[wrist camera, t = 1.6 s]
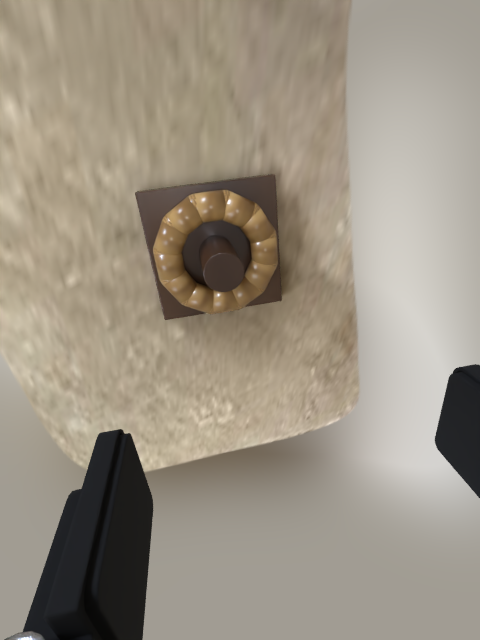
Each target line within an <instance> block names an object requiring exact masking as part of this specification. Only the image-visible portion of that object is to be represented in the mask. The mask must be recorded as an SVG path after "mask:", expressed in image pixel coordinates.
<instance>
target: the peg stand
mask: <svg viewBox="0 0 480 640" xmlns="http://www.w3.org/2000/svg"><path fill="white" fill-rule="evenodd" d="M216 190H229V191H231V192H233V193H236V194H238V195H240V196H242V197H244V198H246V199H249V200H251V201H253V202H255V203H257V204H258V205H259V206H260V208H261V209H262V211H263V212H264V214H265V215H266V217H267V218H268V220H269V221H270V223H271V224H272V226H273V227H274V229H275V231H276V235H277V252H278V264H277V267H276V269H275V271H274V273H273V275H272V277H271V279H270V282H269V284H268V286H267V288H266V290H265V291H264V292H263V293H262V294H261V295H259V296H258V297H257V298H255V299H254V300H252V301H251V302H250V303H248V304H247V305H246V306H252V305H258V304H264V303H270V302H276V301H281V300H282V296H281V277H280V258H279V239H278V219H277V200H276V181H275V175H273V174H268V175H260V176H253V177H245V178H237V179H229V180H221V181H214V182H206V183H198V184H190V185H182V186H174V187H167V188H159V189H151V190H143V191H137V192H136V193H135V195H136V199H137V204H138V208H139V212H140V217H141V221H142V225H143V229H144V234H145V238H146V242H147V246H148V251H149V255H150V259H151V263H152V268H153V272H154V276H155V280H156V285H157V289H158V293H159V297H160V302H161V306H162V310H163V315H164V319H165V320H168V319H174V318H180V317H186V316H192V315H198V314H204V313H205V312H202V311H199V310H196V309H193V308H190V307H187V306H184V305H182V304H181V303H179V301H178V300H177V299H176V298H175V297H174V296H173V295H172V294H171V293H170V292H169V291H168V290H167V289H166V288H165V287H164V286H163V284H162V283H161V282H160V279H159V276H158V271H157V267H156V263H155V258H154V254H153V246H154V243H155V240H156V237H157V234H158V231H159V228H160V225H161V222H162V220H163V217H164V216H165V215H166V214H167V213H168V212H169V211H171V210H172V209H173V208H174V207H175V206H177V205H178V204H179V203H180V202H182V201H183V200H184V199H185V198H186V197H188V196H189V195H191V194H194V193H201V192H208V191H216ZM182 256H183V261H184V267H185V270H186V271H187V272H188V274H189V275H190V276H191V277H192V278H193V279H194V280H195V282H196V283H199V284H202V285H205V286H207V287H210V288H211V289H213V290H215V291H218V292H228V291H231V290H233V289H235V288H236V287H238V286H239V285H240V283H241V282H242V280H243V278H244V275H245V273H246V270H247V268H248V266H249V264H250V262H251V259H252V257H251V246H250V241H249V240H248V238H247V237H246V235H245V234H244V233H243V231H242V230H241V229H240V227H237V226H235V225H233V224H230V223H228V222H226V221H223V220H220V221H213V222H206V223H202V224H201V225H200V226H199V227H197V228H196V229H195V230H194V231H193V232H191V233H190V234H189V235H188V237H187V240H186V242H185V245H184V248H183V250H182ZM246 306H244V307H246Z"/></svg>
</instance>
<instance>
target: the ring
mask: <svg viewBox="0 0 480 640" xmlns="http://www.w3.org/2000/svg"><path fill="white" fill-rule="evenodd" d="M220 220H223V221H226V222H228V223H230V224H233V225H235V226H237V227H240V229H241V230H242V231H243V233H244V234H245V235H246V237H247V238H248V240H249V241H250V246H251V257H252V259H251V262H250V264H249V266H248V268H247V270H246V273H245V275H244V278H243V280H242V282H241V283H240V285H239V286H238V287H236V288H235V289H233V290H231V291H228V292H218V291H215V290H213V289H211V288H210V287H207V286H205V285H202V284H199V283H196V282H195V280H194V279H193V278H192V277H191V276H190V275H189V274H188V272H187V271H186V270H185V267H184V261H183V256H182V250H183V248H184V245H185V242H186V240H187V237H188V235H189V234H190V233H191V232H193V231H194V230H195V229H196V228H197V227H199V226H200V225H201V224H202V223H206V222H213V221H220ZM153 254H154V258H155V263H156V267H157V271H158V276H159V279H160V282H161V283H162V284H163V286H164V287H165V288H166V289H167V290H168V291H169V292H170V293H171V294H172V295H173V296H174V297H175V298H176V299H177V300H178V301H179V303H181V304H182V305H184V306H187V307H190V308H193V309H196V310H199V311H202V312H205V313H208V314H216V313H222V312H228V311H234V310H239V309H241V308H243V307H244V306H246V305H247V304H248V303H250V302H251V301H252V300H254V299H255V298H257V297H258V296H259V295H261V294H262V293H263V292H264V291H265V290H266V288H267V286H268V284H269V282H270V279H271V277H272V275H273V273H274V271H275V269H276V267H277V264H278V252H277V235H276V231H275V229H274V227H273V226H272V224H271V223H270V221H269V220H268V218H267V217H266V215H265V214H264V212H263V211H262V209H261V208H260V206H259V205H258V204H257V203H255V202H253V201H251V200H249V199H246V198H244V197H242V196H240V195H238V194H236V193H233V192H231V191H229V190H216V191H208V192H201V193H194V194H191V195H189V196H188V197H186V198H185V199H184V200H183V201H182V202H180V203H179V204H178V205H177V206H175V207H174V208H173V209H172V210H171V211H169V212H168V213H167V214H166V215H165V216H164V217H163V220H162V222H161V225H160V228H159V231H158V234H157V237H156V240H155V243H154V246H153Z"/></svg>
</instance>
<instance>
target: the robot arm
mask: <svg viewBox="0 0 480 640" xmlns="http://www.w3.org/2000/svg"><path fill="white" fill-rule="evenodd" d="M435 443H436V446H437V448H438V450H439V451H440V452H441V454H442V455H443V456H444V457H445V458H446V460H447V461H448V462H449V463H450V464H451V465H452V466H453V468H454V469H455V470H456V471H457V472H458V474H459V475H460V476H461V477H462V478H463V479H464V481H465V482H466V483H467V484H468V485H469V486H470V487H471V489H472V490H473V491H474V492H475V493H476V494H477V496H478V497H479V498H480V365H476V364H475V365H470V366H464V367H459V368H456V369H455V370H454V371H453V374H451V375H450V377H449V380H448V384H447V389H446V393H445V397H444V402H443V406H442V410H441V415H440V419H439V423H438V427H437V432H436V436H435ZM152 517H153V499H152V495H151V492H150V489H149V486H148V483H147V480H146V477H145V474H144V471H143V468H142V465H141V462H140V459H139V456H138V454H137V451H136V448H135V445H134V442H133V439H132V436H131V434H130V433H128V434H124V432H123V430H122V429H119V430H114V431H108V432H103V433H100V434H99V435H98V437H97V440H96V443H95V446H94V450H93V453H92V456H91V460H90V463H89V466H88V470H87V473H86V476H85V480H84V483H83V486H82V489H79V490H75V491H72V492H71V494H70V495H69V496H68V499H67V501H66V504H65V507H64V510H63V513H62V516H61V519H60V522H59V525H58V528H57V531H56V534H55V537H54V540H53V543H52V546H51V549H50V552H49V555H48V558H47V561H46V564H45V567H44V570H43V573H42V576H41V579H40V582H39V585H38V587H37V591H36V594H35V597H34V600H33V603H32V605H31V609H30V611H29V614H28V617H27V621H26V623H25V627H24V629H23V632H21V633H17V634H15V635H13V636H11V637H9V638H7V639H5V640H142V638H143V625H144V613H145V600H146V589H147V577H148V565H149V553H150V541H151V529H152Z"/></svg>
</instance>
